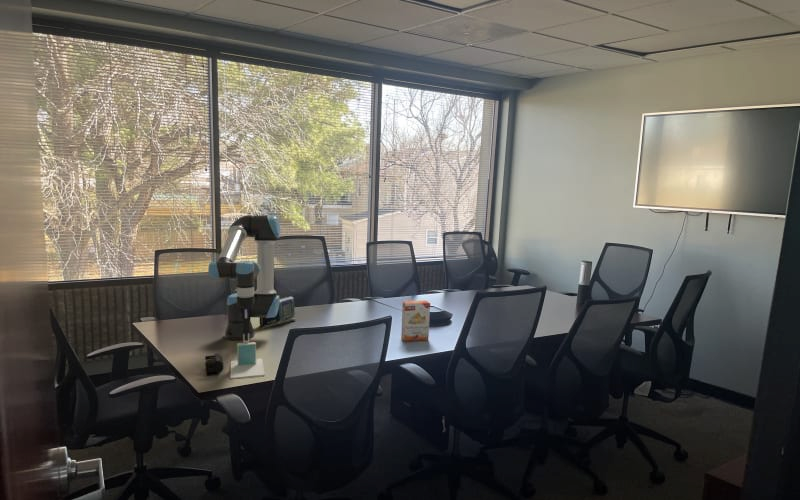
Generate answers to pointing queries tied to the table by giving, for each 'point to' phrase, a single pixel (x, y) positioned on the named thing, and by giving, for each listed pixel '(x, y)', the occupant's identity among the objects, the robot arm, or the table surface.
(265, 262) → the robot arm
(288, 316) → the radio
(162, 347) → the table surface
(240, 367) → the mat
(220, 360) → the end cap
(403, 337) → the cracker box
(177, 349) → the table surface
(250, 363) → the tile
